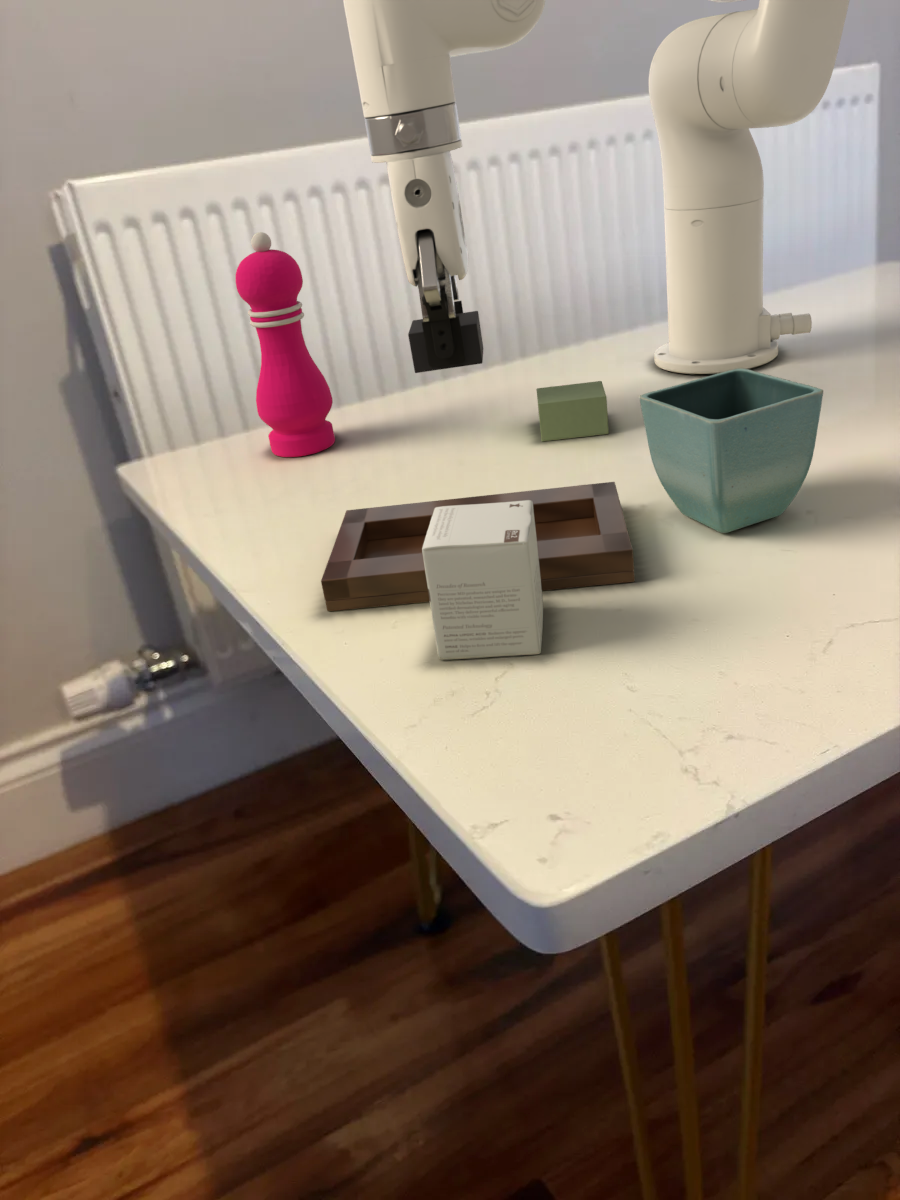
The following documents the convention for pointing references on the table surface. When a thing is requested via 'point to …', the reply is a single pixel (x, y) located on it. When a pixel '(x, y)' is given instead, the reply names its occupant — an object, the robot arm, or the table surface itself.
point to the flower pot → (732, 444)
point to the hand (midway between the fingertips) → (448, 353)
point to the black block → (470, 342)
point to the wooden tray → (396, 533)
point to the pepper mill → (284, 354)
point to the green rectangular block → (572, 411)
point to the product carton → (484, 580)
